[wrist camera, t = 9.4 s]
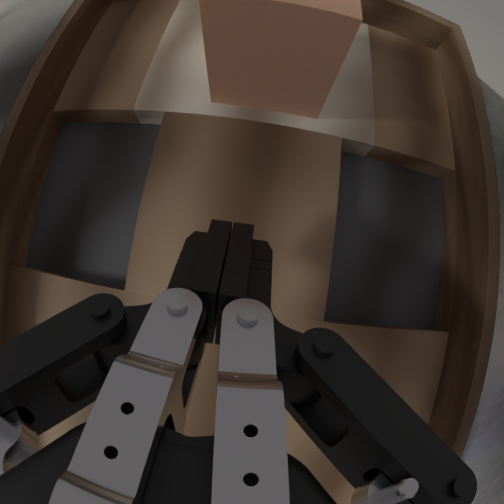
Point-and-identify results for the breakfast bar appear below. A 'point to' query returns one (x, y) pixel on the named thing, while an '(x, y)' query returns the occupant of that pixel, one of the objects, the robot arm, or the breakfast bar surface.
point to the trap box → (264, 197)
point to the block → (277, 51)
